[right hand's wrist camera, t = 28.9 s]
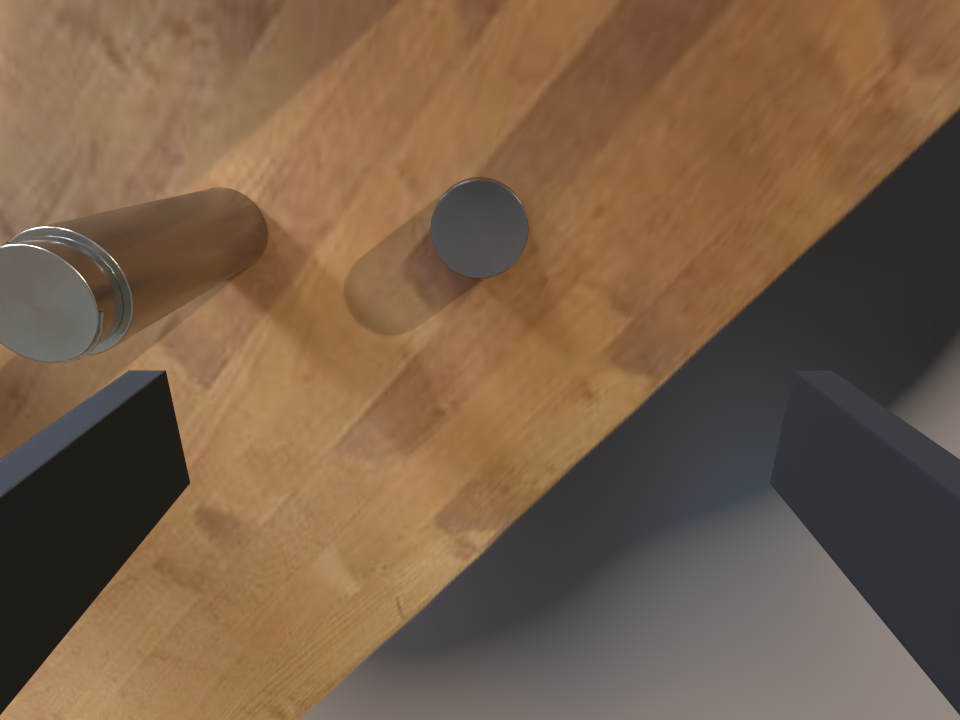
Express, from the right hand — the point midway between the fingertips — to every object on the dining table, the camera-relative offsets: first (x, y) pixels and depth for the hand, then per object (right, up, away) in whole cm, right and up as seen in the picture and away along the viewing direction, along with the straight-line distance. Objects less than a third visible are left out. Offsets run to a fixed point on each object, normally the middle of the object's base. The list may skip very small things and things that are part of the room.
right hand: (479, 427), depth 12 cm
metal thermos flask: (-17, +10, +27) cm, 34 cm away
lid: (0, +10, +25) cm, 27 cm away
